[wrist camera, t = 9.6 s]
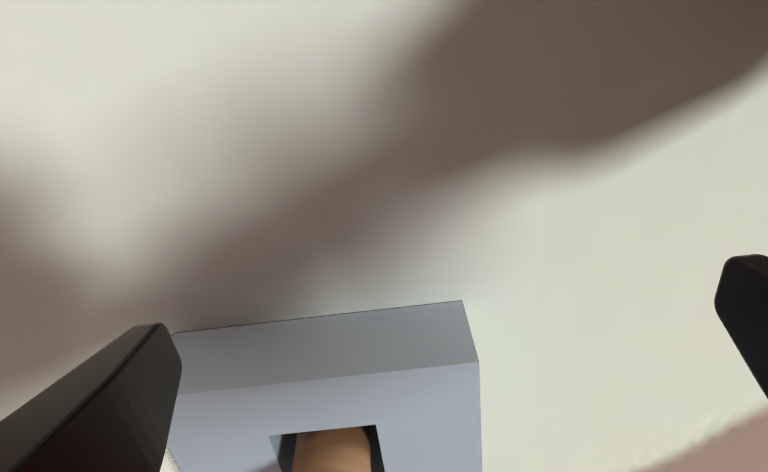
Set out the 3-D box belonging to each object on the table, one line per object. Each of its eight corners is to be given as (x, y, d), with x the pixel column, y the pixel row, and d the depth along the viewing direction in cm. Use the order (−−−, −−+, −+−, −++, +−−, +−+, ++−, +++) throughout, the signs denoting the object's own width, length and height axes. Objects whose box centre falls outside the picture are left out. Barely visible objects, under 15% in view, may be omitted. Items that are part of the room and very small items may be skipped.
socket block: (462, 300, 23) (478, 361, 19) (469, 447, 28) (483, 515, 25) (174, 333, 23) (140, 398, 20) (236, 471, 29) (218, 541, 25)
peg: (365, 368, 25) (364, 526, 18) (374, 414, 27) (376, 574, 20) (296, 375, 25) (269, 535, 18) (310, 421, 27) (290, 582, 20)
